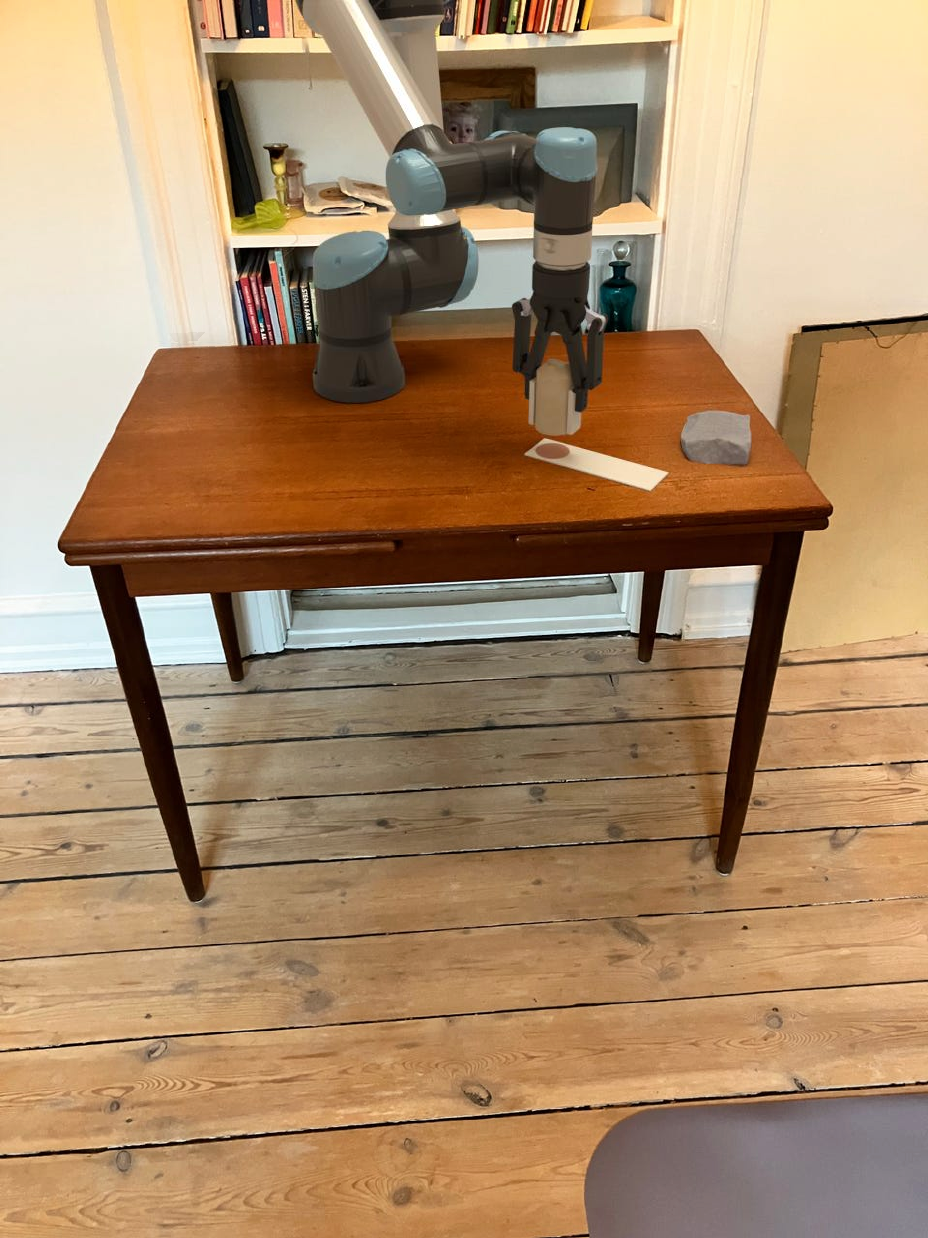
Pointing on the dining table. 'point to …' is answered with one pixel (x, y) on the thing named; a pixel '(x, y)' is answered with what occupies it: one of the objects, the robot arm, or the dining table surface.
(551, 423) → the candle
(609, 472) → the test strip
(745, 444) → the stone block
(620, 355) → the dining table surface
